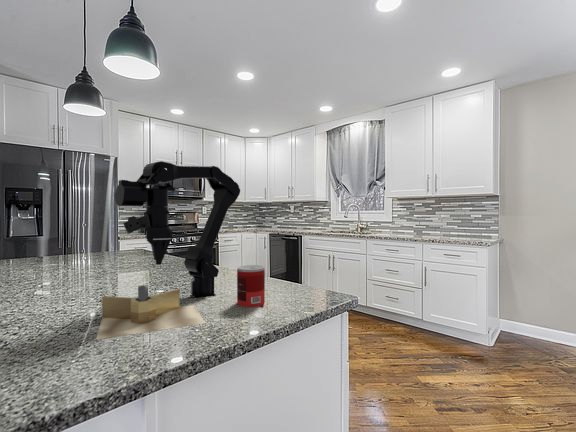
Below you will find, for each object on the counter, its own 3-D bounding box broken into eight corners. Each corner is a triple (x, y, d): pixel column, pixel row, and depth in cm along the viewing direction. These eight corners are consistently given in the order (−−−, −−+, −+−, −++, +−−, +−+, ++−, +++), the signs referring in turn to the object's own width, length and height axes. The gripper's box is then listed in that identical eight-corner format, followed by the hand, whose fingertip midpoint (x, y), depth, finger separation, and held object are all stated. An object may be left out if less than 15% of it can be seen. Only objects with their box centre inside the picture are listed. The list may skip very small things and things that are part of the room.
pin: (148, 317, 78) (147, 284, 78) (148, 319, 76) (148, 286, 76) (138, 318, 77) (137, 285, 77) (138, 321, 75) (138, 287, 75)
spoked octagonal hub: (179, 307, 86) (179, 288, 86) (184, 317, 78) (184, 297, 78) (102, 316, 78) (102, 296, 78) (99, 329, 70) (98, 306, 70)
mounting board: (193, 307, 88) (193, 304, 88) (205, 326, 74) (205, 322, 74) (102, 319, 78) (102, 316, 78) (96, 343, 64) (95, 339, 64)
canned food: (268, 303, 93) (268, 265, 93) (257, 311, 85) (257, 270, 85) (245, 300, 95) (245, 264, 95) (232, 308, 88) (232, 268, 88)
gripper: (125, 207, 94) (125, 259, 94) (124, 206, 77) (124, 269, 77) (165, 207, 99) (165, 257, 99) (172, 206, 82) (172, 266, 82)
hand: (157, 262), depth 89 cm, fingers open, 9 cm apart
